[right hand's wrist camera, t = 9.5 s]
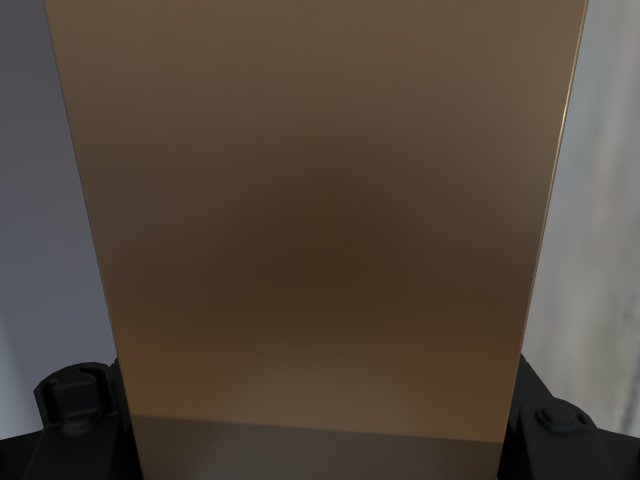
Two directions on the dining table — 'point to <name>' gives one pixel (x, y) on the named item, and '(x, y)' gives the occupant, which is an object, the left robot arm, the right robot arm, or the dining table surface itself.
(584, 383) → the dining table surface
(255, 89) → the post
